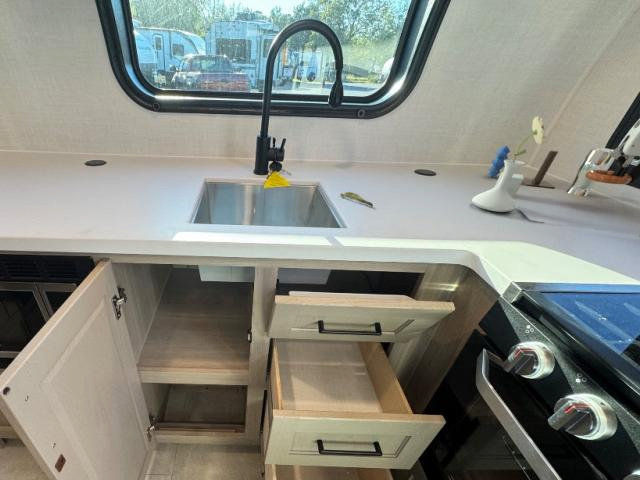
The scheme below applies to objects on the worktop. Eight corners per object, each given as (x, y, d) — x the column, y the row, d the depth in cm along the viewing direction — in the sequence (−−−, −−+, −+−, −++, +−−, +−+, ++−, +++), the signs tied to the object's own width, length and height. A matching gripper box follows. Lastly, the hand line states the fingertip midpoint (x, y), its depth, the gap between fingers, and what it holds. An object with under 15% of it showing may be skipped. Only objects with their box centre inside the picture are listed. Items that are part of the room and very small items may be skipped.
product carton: (511, 196, 108) (523, 174, 104) (512, 201, 104) (524, 178, 100) (490, 193, 111) (501, 171, 106) (490, 197, 107) (501, 175, 102)
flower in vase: (508, 218, 92) (563, 120, 77) (465, 208, 98) (508, 115, 83) (516, 207, 99) (567, 116, 84) (475, 198, 106) (516, 112, 91)
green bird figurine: (369, 208, 96) (371, 201, 94) (337, 197, 105) (338, 191, 104) (378, 206, 97) (380, 199, 96) (346, 195, 107) (347, 189, 105)
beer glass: (593, 200, 107) (626, 152, 98) (570, 198, 108) (601, 151, 99) (578, 193, 113) (608, 148, 104) (557, 192, 114) (585, 147, 105)
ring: (617, 177, 95) (622, 170, 94) (636, 186, 88) (641, 179, 87) (578, 174, 98) (582, 167, 97) (593, 182, 91) (598, 175, 90)
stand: (544, 184, 122) (564, 150, 115) (553, 190, 115) (575, 154, 108) (516, 181, 124) (534, 147, 117) (524, 187, 118) (543, 152, 110)
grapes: (500, 182, 122) (517, 148, 115) (480, 178, 126) (495, 146, 119) (507, 177, 129) (523, 145, 122) (488, 173, 133) (503, 142, 126)
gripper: (641, 108, 81) (593, 181, 91) (727, 110, 76) (666, 188, 87) (624, 105, 86) (581, 175, 97) (704, 108, 82) (649, 180, 92)
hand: (621, 180), depth 92 cm, fingers closed on ring, 2 cm apart
